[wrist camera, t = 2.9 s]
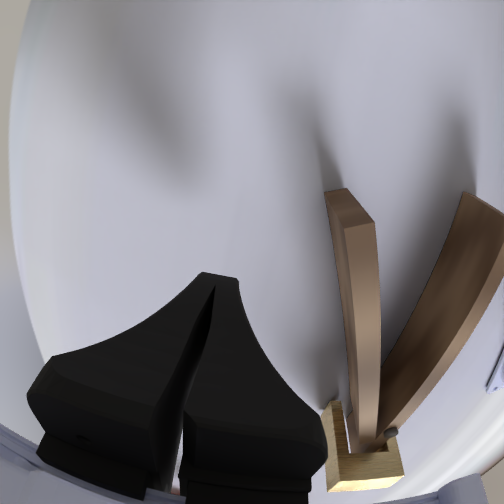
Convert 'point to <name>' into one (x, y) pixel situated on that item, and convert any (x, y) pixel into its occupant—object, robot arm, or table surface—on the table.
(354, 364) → the tong arm
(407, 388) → the bar
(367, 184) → the table surface
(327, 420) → the light wood block
